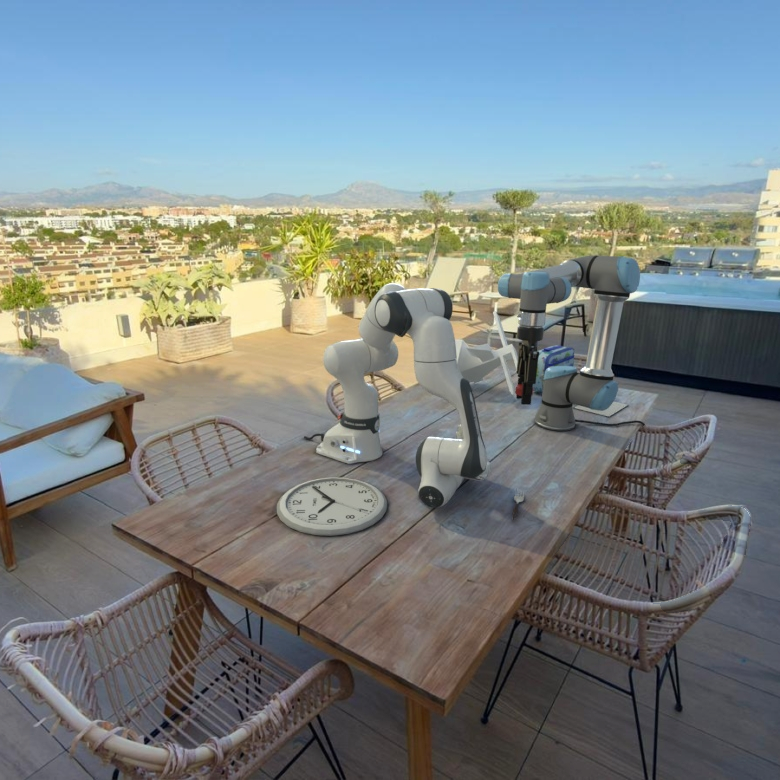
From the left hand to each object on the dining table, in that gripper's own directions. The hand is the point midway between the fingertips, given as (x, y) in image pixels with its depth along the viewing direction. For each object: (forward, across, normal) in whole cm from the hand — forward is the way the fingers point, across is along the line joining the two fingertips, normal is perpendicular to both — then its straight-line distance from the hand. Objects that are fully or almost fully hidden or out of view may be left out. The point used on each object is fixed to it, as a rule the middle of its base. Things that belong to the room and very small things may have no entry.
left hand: (462, 454), depth 162 cm
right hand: (+10, -15, -17) cm, 25 cm away
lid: (+10, -15, -21) cm, 28 cm away
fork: (-15, -20, +6) cm, 25 cm away
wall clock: (-35, +26, +6) cm, 44 cm away
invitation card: (+88, -37, +6) cm, 95 cm away
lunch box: (+103, -13, +6) cm, 104 cm away
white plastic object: (+84, +16, +6) cm, 86 cm away
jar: (-1, 0, +6) cm, 6 cm away
